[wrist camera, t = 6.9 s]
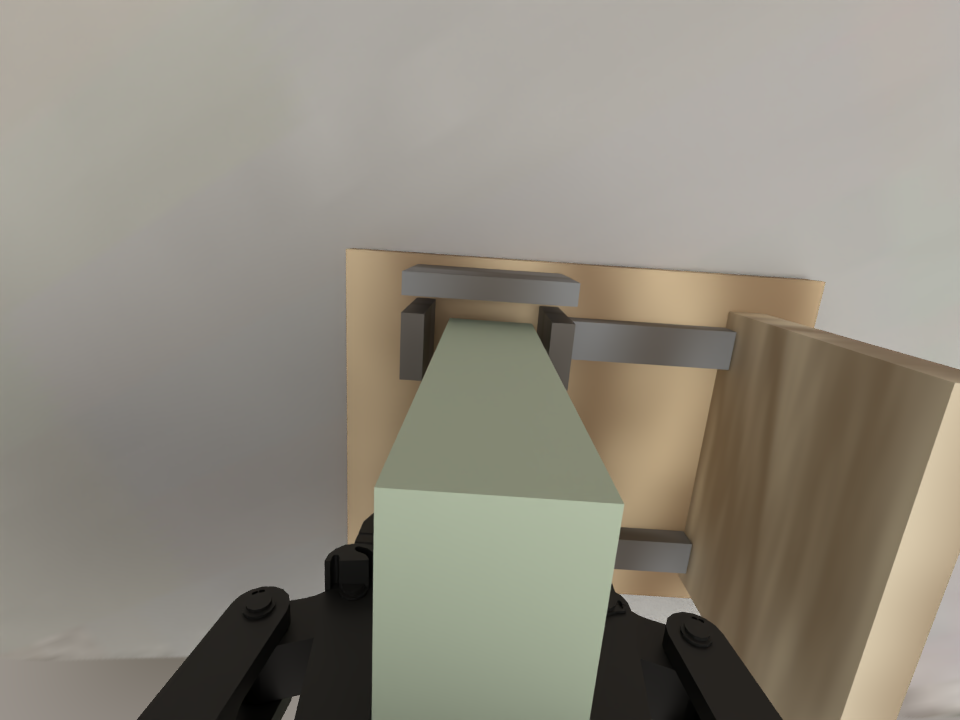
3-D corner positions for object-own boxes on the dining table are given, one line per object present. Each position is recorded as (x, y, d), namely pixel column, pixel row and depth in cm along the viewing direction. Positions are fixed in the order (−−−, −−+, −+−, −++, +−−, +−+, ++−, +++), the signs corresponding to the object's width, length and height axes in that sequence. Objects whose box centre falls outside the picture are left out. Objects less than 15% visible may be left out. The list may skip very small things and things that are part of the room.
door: (407, 592, 20) (302, 1067, 9) (416, 315, 17) (273, 480, 6) (505, 599, 20) (530, 1081, 9) (531, 323, 17) (624, 504, 6)
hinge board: (354, 560, 25) (254, 812, 14) (353, 248, 21) (211, 263, 10) (732, 584, 25) (922, 851, 14) (806, 279, 21) (1151, 327, 10)
